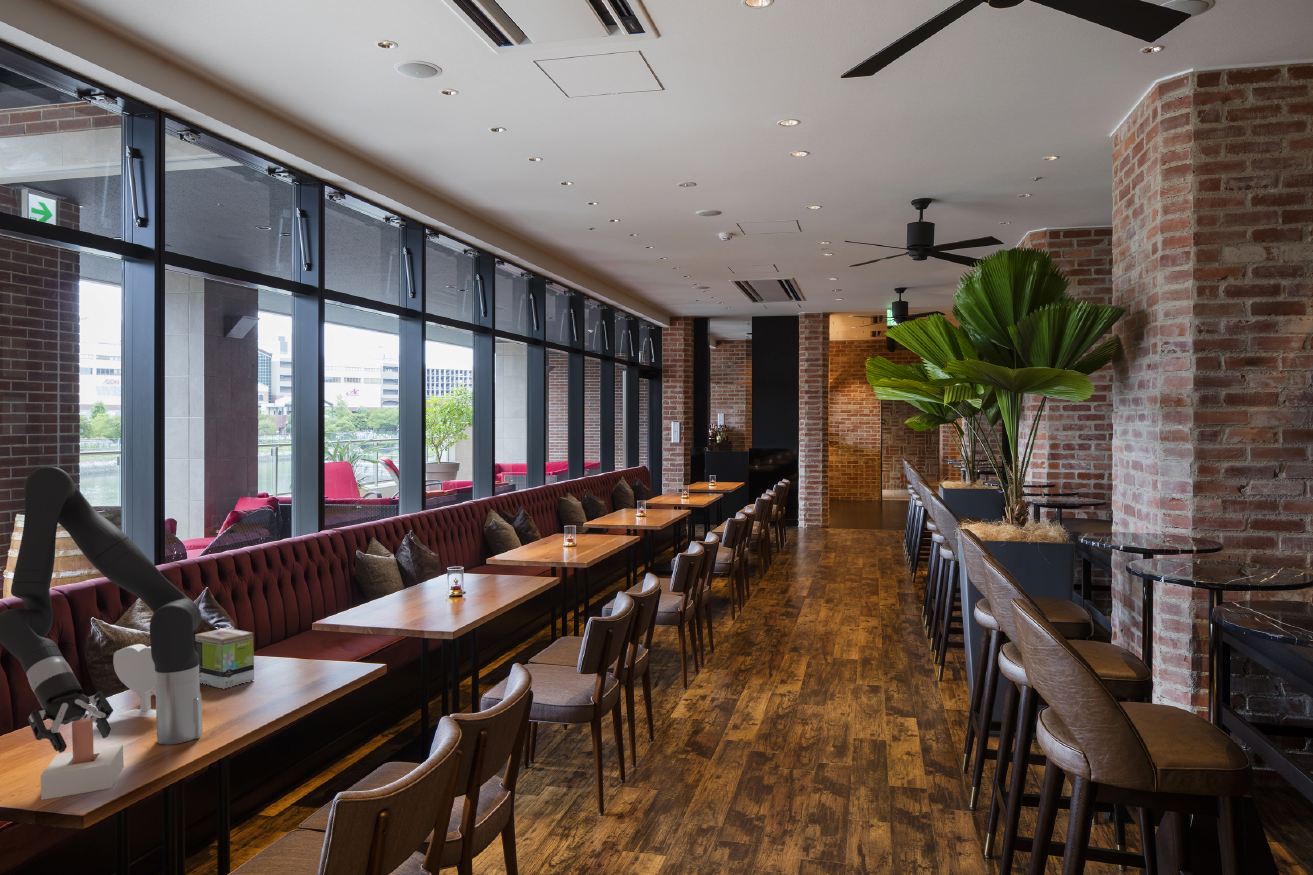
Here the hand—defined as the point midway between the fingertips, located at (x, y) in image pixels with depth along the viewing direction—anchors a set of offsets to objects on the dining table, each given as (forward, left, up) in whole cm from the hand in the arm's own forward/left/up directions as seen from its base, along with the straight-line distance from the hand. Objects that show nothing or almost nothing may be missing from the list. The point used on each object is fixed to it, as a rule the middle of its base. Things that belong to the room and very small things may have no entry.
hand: (85, 742), depth 170 cm
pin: (+1, -1, -8) cm, 8 cm away
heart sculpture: (-3, -46, -9) cm, 47 cm away
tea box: (-20, -67, -9) cm, 70 cm away
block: (+1, -1, -9) cm, 9 cm away
